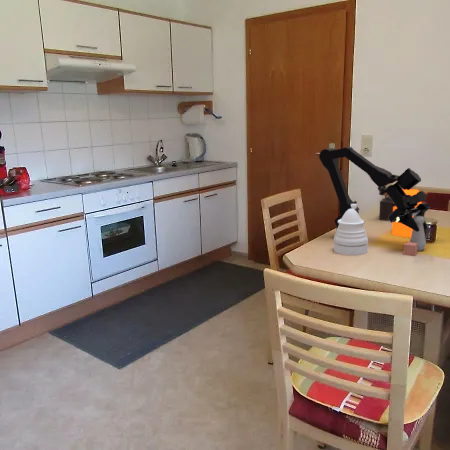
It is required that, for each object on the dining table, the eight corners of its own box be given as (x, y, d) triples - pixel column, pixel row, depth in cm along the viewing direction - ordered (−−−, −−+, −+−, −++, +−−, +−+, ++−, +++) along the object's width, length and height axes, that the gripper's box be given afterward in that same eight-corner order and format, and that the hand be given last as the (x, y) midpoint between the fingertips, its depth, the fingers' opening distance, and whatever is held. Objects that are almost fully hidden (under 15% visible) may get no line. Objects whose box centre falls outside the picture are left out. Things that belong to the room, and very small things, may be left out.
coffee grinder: (380, 215, 232) (382, 180, 228) (403, 216, 227) (405, 181, 223) (375, 222, 219) (376, 185, 215) (399, 223, 214) (401, 186, 209)
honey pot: (344, 244, 185) (345, 201, 180) (373, 249, 176) (375, 204, 171) (327, 251, 176) (327, 206, 172) (356, 257, 167) (358, 210, 163)
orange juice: (411, 238, 189) (413, 190, 184) (391, 234, 195) (393, 189, 191) (420, 234, 194) (422, 188, 189) (400, 231, 200) (402, 186, 196)
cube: (403, 254, 168) (404, 244, 167) (405, 251, 171) (406, 241, 170) (414, 256, 166) (415, 245, 165) (417, 253, 169) (417, 242, 168)
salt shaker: (427, 251, 170) (428, 217, 167) (411, 251, 171) (412, 218, 168) (423, 247, 175) (424, 214, 173) (408, 247, 176) (409, 215, 174)
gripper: (396, 187, 166) (421, 221, 159) (427, 182, 175) (452, 214, 169) (378, 205, 174) (401, 238, 168) (409, 199, 184) (432, 230, 177)
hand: (422, 230), depth 170 cm, fingers open, 4 cm apart
